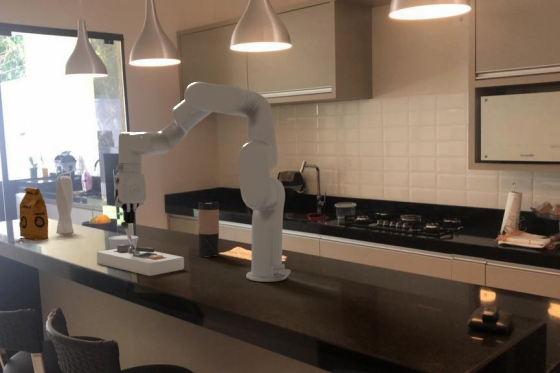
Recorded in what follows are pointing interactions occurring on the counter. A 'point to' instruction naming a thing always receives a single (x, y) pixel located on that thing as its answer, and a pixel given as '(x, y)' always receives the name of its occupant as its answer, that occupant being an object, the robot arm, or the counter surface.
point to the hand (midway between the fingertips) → (129, 223)
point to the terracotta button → (156, 257)
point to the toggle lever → (128, 235)
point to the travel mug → (208, 228)
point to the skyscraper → (64, 203)
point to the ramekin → (121, 241)
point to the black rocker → (144, 249)
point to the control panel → (140, 261)
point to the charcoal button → (123, 248)
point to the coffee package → (33, 215)
